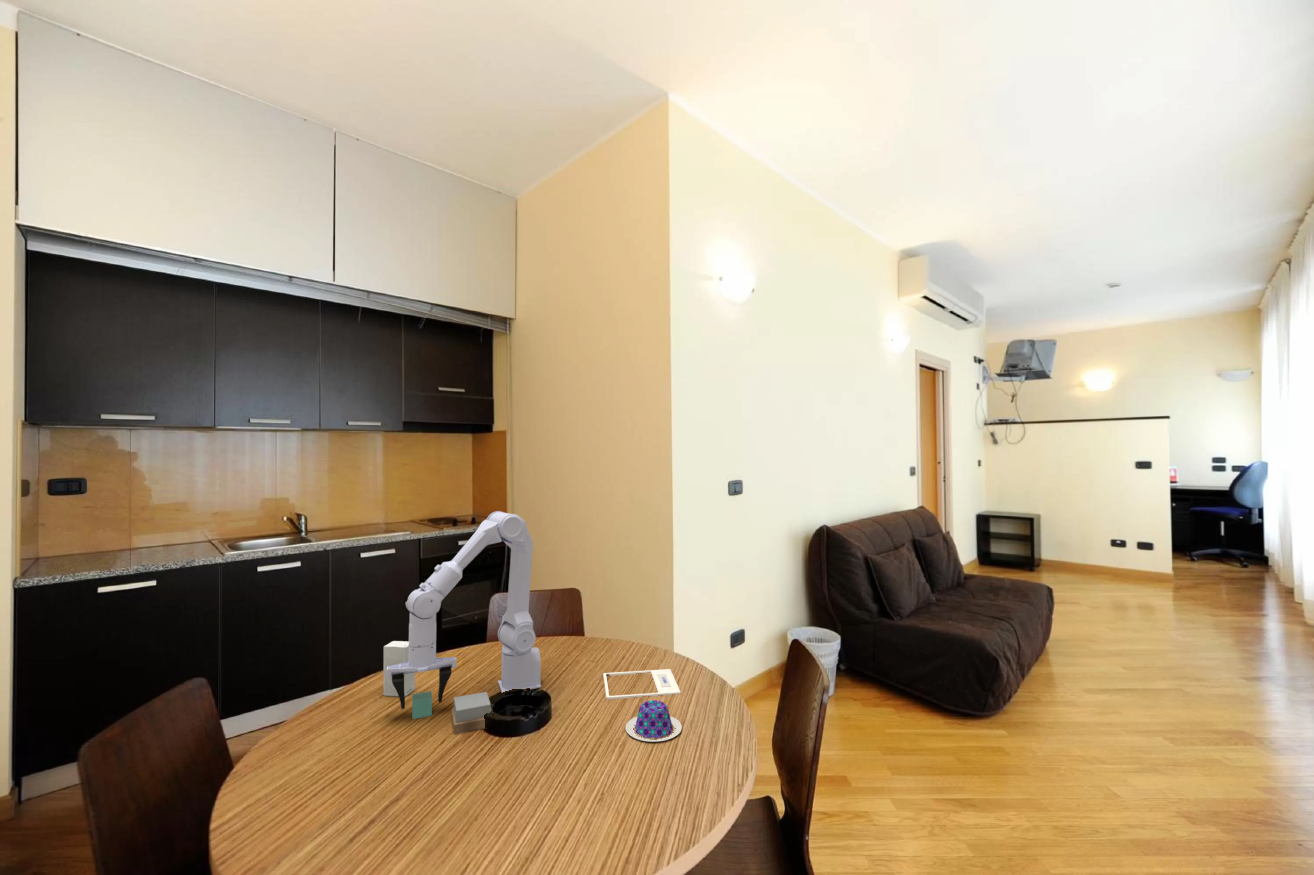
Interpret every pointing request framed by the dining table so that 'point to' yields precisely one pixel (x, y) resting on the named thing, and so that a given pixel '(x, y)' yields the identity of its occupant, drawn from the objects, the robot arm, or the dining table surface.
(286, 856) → the dining table surface
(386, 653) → the skincare box
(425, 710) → the teal block
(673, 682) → the photo frame
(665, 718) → the pudding
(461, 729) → the tower base
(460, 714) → the tower top
